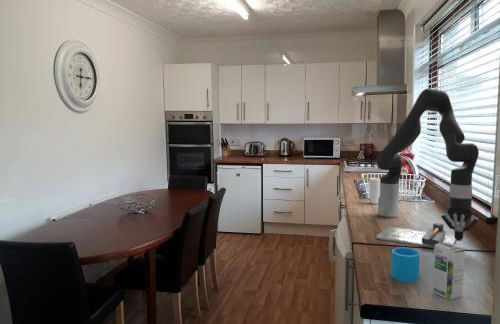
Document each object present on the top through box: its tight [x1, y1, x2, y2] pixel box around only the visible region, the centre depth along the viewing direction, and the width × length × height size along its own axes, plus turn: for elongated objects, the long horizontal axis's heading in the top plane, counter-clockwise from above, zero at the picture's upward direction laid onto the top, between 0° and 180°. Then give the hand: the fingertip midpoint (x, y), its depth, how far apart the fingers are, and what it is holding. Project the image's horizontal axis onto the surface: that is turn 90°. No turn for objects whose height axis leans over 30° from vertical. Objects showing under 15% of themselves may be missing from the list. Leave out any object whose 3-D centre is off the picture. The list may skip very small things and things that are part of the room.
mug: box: [390, 247, 421, 283], centre depth 124 cm, size 12×8×8 cm
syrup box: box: [432, 242, 466, 301], centre depth 109 cm, size 6×6×14 cm
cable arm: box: [422, 222, 446, 245], centre depth 157 cm, size 19×6×4 cm, turn 145°
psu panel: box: [375, 226, 457, 249], centre depth 161 cm, size 28×18×1 cm, turn 55°
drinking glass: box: [368, 177, 381, 205], centre depth 229 cm, size 7×7×15 cm
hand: (458, 240), depth 148 cm, fingers closed
